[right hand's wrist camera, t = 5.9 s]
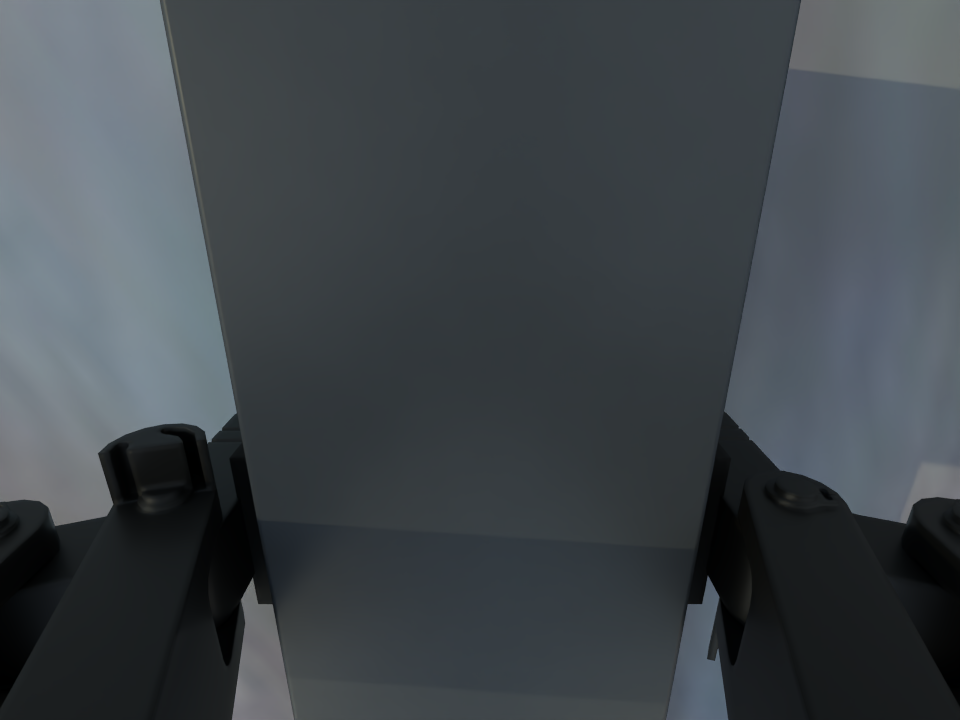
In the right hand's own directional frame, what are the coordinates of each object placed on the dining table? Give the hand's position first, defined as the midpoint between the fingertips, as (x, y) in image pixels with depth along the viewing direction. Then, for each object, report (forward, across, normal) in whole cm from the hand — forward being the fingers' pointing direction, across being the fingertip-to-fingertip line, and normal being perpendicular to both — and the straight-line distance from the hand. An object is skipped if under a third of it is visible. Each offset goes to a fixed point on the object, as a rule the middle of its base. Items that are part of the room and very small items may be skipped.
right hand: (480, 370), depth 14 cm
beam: (+1, 0, -28) cm, 28 cm away
